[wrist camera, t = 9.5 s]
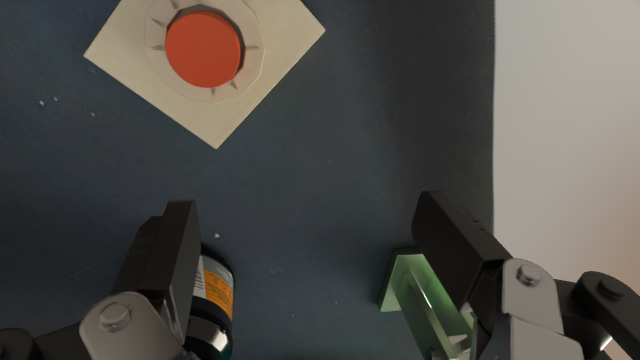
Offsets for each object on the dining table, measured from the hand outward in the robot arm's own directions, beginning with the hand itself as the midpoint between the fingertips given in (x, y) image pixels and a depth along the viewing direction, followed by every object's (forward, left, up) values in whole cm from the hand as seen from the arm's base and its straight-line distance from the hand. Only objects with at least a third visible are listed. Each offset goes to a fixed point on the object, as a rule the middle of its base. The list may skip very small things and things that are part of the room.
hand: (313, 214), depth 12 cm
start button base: (+1, -6, -17) cm, 18 cm away
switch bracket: (+6, +29, -17) cm, 34 cm away
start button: (+1, -6, -13) cm, 14 cm away
